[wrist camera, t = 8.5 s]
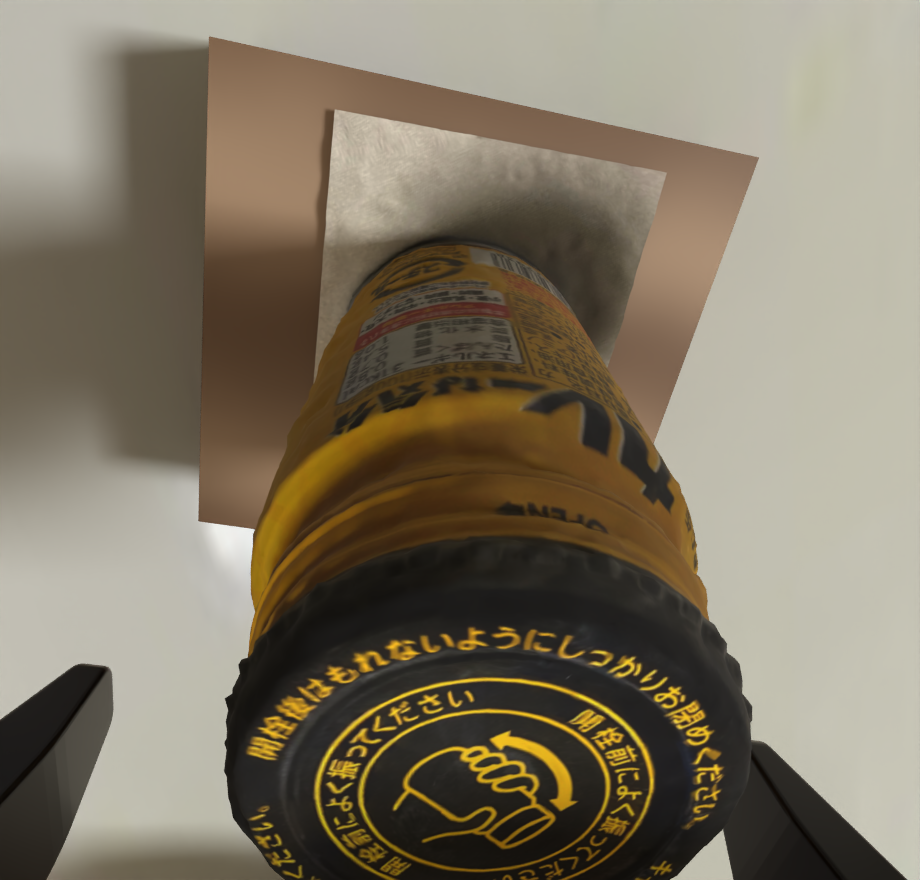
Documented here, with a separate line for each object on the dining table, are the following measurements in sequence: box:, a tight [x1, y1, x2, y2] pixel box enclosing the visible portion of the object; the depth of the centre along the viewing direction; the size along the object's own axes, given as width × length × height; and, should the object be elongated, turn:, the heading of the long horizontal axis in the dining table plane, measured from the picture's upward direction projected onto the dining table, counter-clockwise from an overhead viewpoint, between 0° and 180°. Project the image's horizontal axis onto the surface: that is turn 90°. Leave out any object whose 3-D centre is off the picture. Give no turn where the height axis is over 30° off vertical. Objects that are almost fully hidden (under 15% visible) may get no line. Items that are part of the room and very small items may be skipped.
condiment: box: [224, 109, 752, 880], centre depth 11 cm, size 7×8×12 cm
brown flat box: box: [198, 37, 759, 529], centre depth 19 cm, size 12×12×4 cm
